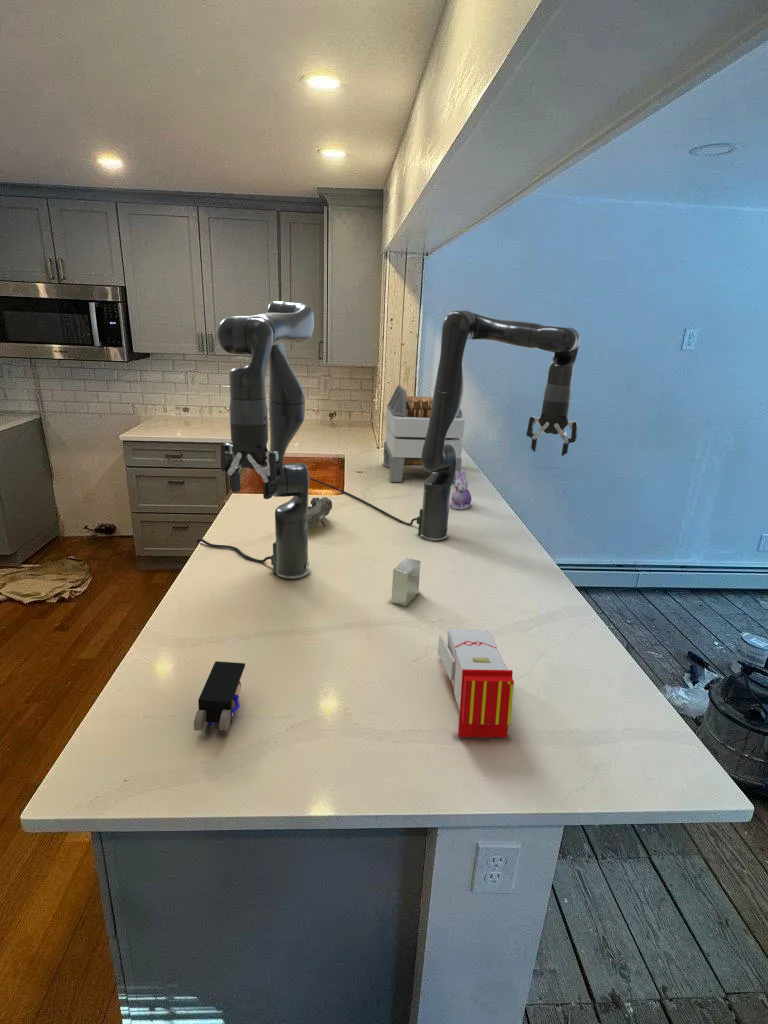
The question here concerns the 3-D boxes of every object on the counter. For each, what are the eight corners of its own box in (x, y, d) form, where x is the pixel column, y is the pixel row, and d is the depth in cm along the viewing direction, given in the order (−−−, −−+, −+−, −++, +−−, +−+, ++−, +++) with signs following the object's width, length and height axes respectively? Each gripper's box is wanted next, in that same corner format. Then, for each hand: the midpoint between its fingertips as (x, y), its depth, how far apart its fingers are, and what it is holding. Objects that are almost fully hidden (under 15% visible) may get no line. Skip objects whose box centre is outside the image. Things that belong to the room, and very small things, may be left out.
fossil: (299, 502, 213) (329, 481, 208) (315, 521, 216) (345, 501, 211) (284, 530, 194) (317, 507, 189) (302, 550, 196) (335, 528, 191)
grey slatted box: (382, 463, 289) (386, 382, 275) (445, 464, 293) (451, 384, 279) (390, 482, 257) (394, 392, 243) (460, 483, 261) (468, 394, 247)
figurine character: (231, 748, 102) (248, 688, 116) (228, 717, 99) (246, 659, 113) (194, 747, 102) (215, 687, 116) (189, 716, 99) (212, 658, 112)
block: (391, 602, 153) (393, 569, 150) (404, 589, 161) (406, 557, 157) (405, 606, 151) (407, 573, 148) (418, 593, 159) (420, 561, 156)
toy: (488, 613, 130) (523, 677, 101) (484, 667, 133) (517, 744, 104) (435, 612, 130) (455, 676, 101) (432, 666, 133) (451, 743, 103)
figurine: (458, 511, 224) (461, 475, 219) (444, 503, 233) (446, 468, 228) (477, 508, 228) (481, 473, 223) (462, 501, 237) (466, 466, 232)
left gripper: (209, 418, 116) (214, 493, 122) (266, 427, 110) (268, 505, 116) (233, 413, 123) (237, 485, 128) (288, 421, 117) (289, 495, 122)
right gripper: (529, 398, 165) (522, 452, 171) (580, 403, 159) (571, 459, 165) (534, 395, 171) (527, 447, 177) (583, 400, 166) (575, 454, 171)
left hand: (251, 494), depth 122 cm, fingers open, 8 cm apart
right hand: (548, 453), depth 171 cm, fingers open, 8 cm apart
